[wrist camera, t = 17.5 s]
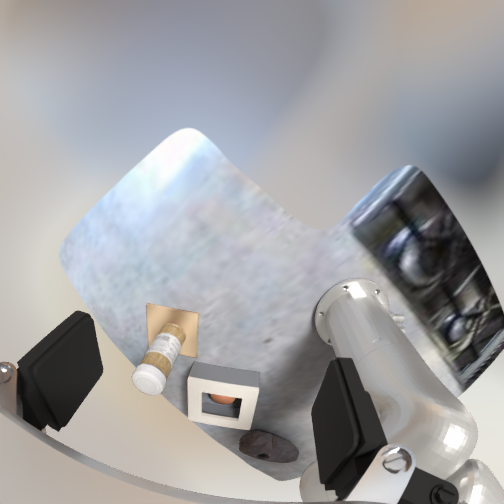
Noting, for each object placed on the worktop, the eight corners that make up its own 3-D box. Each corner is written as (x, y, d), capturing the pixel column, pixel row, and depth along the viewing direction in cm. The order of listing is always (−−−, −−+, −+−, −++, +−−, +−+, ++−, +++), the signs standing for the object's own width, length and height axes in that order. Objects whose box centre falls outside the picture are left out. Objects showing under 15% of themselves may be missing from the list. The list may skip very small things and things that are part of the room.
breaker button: (237, 384, 46) (236, 390, 45) (234, 400, 48) (234, 406, 46) (212, 380, 46) (211, 386, 45) (211, 396, 48) (210, 402, 46)
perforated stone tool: (304, 441, 52) (306, 463, 45) (290, 450, 53) (290, 472, 46) (252, 421, 50) (249, 446, 43) (238, 431, 51) (235, 455, 45)
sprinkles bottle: (161, 339, 44) (131, 390, 31) (162, 318, 43) (129, 367, 30) (185, 346, 44) (161, 400, 31) (188, 325, 43) (162, 379, 30)
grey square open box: (260, 372, 46) (259, 390, 41) (251, 412, 49) (249, 430, 44) (194, 361, 46) (187, 379, 41) (193, 403, 49) (188, 420, 44)
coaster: (198, 313, 43) (197, 314, 42) (197, 355, 45) (196, 357, 45) (147, 303, 43) (146, 304, 42) (150, 345, 46) (149, 347, 45)
